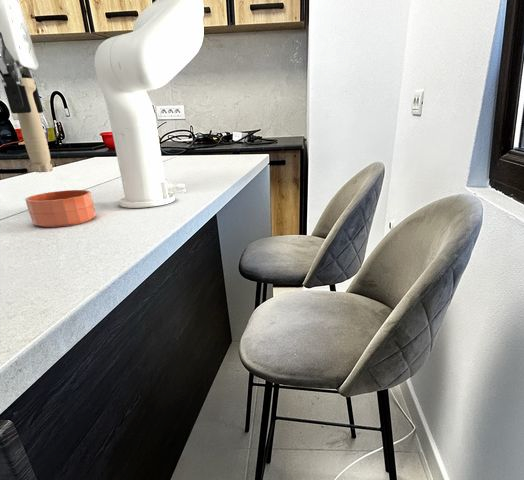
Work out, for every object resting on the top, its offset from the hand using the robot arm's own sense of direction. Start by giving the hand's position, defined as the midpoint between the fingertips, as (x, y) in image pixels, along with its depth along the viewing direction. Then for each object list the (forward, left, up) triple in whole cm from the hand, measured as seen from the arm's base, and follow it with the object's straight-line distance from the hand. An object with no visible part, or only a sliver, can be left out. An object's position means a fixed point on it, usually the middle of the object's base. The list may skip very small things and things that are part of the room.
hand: (28, 112), depth 77 cm
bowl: (-1, 0, -19) cm, 19 cm away
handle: (0, 0, -10) cm, 10 cm away
